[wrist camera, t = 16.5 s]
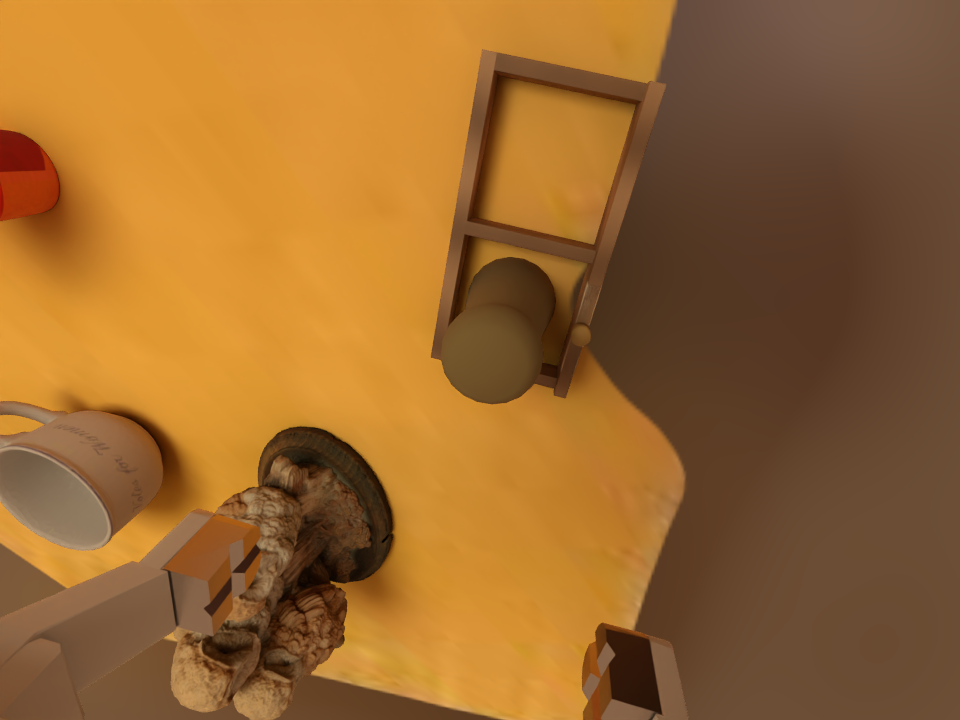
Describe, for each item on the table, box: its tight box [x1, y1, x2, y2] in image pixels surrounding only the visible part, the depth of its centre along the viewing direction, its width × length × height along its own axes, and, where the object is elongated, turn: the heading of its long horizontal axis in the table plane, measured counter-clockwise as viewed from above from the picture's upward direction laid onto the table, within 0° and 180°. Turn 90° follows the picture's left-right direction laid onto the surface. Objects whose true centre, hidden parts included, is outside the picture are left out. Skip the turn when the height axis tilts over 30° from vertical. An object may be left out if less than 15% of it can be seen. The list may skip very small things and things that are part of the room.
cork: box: [441, 257, 555, 404], centre depth 27 cm, size 6×6×11 cm
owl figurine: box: [171, 427, 393, 720], centre depth 35 cm, size 18×12×17 cm, turn 13°
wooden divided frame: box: [431, 50, 666, 398], centre depth 28 cm, size 18×10×4 cm, turn 169°
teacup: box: [0, 401, 163, 551], centre depth 40 cm, size 14×11×8 cm
